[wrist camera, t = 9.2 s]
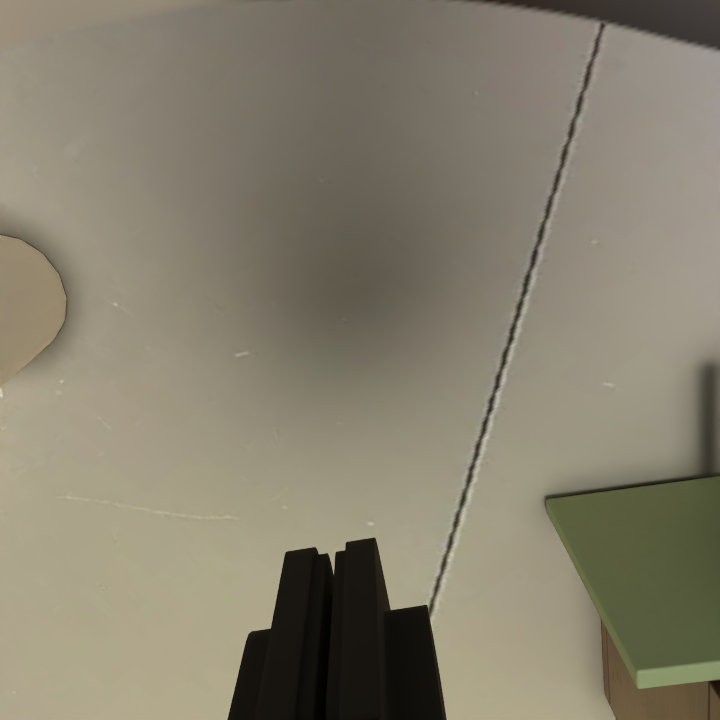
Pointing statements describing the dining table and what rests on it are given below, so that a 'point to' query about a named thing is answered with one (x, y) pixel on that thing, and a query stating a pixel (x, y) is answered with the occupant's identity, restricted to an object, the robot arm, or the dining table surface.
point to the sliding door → (651, 574)
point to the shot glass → (26, 305)
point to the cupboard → (655, 693)
